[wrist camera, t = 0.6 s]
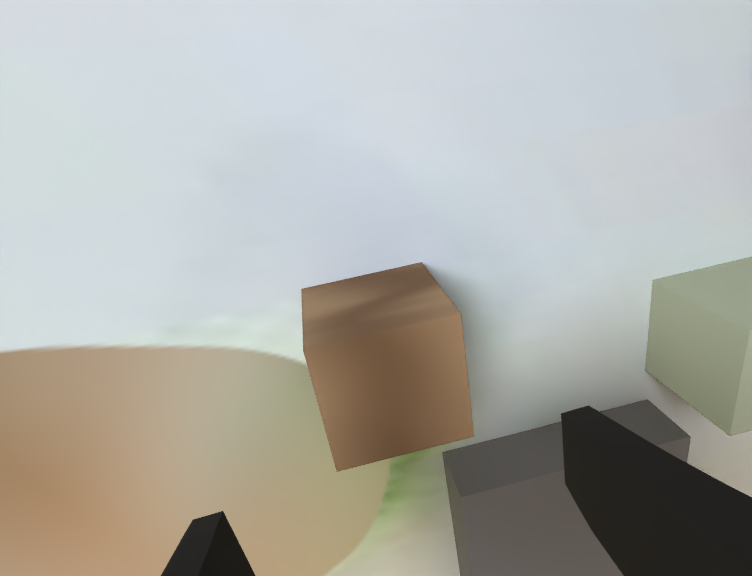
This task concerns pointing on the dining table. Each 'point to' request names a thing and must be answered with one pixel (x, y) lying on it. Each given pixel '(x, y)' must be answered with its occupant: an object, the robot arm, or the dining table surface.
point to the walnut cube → (386, 364)
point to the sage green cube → (705, 341)
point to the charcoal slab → (535, 500)
